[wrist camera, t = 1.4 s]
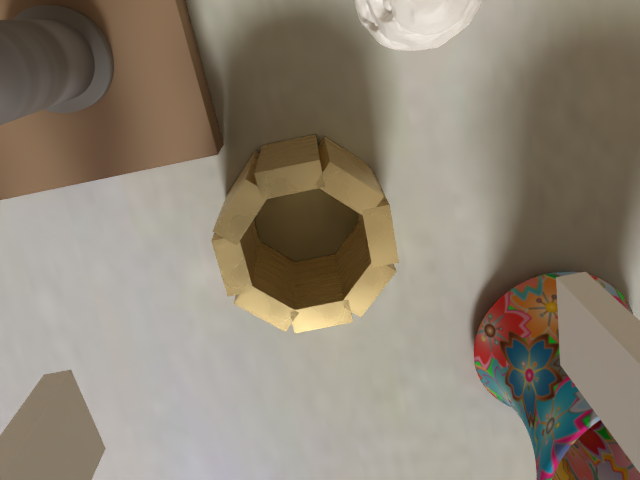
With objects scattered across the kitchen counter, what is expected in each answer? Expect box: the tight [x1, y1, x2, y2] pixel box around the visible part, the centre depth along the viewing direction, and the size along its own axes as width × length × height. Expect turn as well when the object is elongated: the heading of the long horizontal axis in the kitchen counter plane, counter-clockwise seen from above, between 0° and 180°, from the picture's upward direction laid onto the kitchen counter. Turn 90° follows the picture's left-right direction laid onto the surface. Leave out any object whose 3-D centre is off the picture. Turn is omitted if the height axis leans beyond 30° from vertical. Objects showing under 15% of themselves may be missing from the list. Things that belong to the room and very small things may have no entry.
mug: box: [474, 272, 640, 480], centre depth 26 cm, size 12×9×11 cm
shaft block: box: [0, 0, 223, 200], centre depth 20 cm, size 10×10×9 cm
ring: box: [212, 134, 399, 333], centre depth 25 cm, size 7×7×5 cm
